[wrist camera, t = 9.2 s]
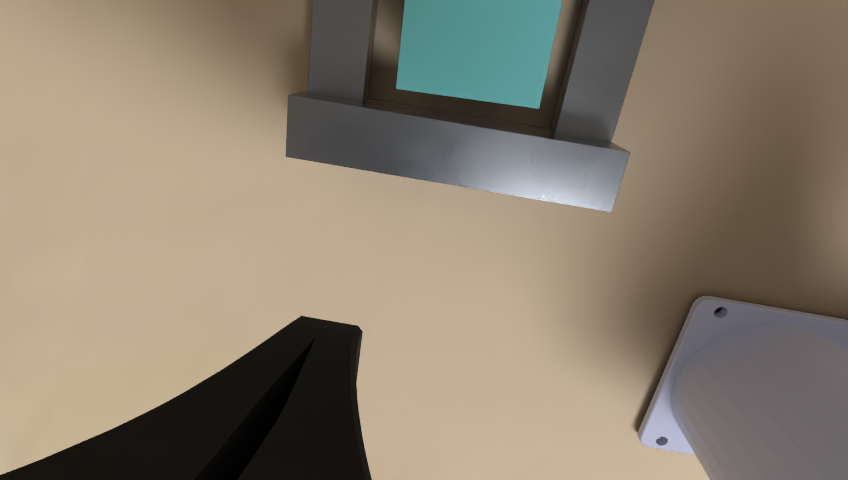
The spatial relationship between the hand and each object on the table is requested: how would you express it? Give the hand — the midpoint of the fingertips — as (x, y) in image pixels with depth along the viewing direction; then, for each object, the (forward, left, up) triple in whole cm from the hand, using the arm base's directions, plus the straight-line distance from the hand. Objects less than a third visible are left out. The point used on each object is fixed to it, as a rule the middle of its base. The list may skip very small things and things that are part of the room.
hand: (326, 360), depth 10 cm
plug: (-2, -7, -10) cm, 12 cm away
